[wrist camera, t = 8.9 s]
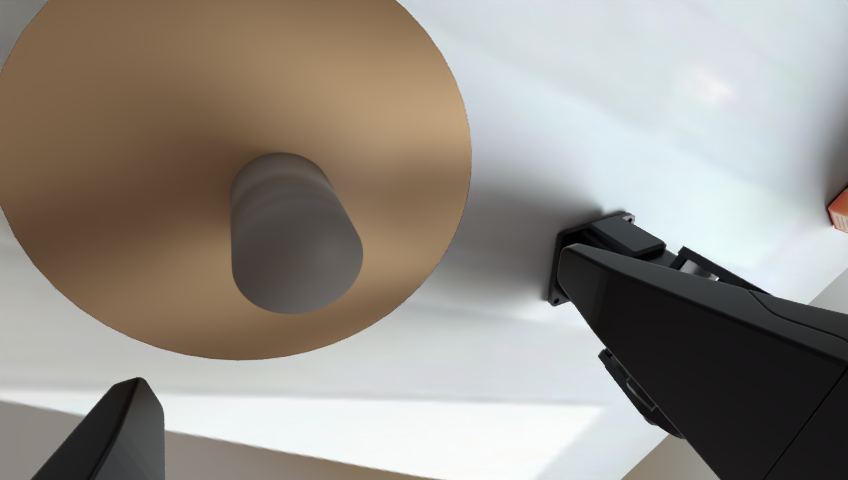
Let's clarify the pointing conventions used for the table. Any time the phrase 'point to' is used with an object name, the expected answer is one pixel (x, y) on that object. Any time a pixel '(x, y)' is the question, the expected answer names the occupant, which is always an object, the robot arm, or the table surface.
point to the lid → (232, 166)
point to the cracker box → (840, 211)
